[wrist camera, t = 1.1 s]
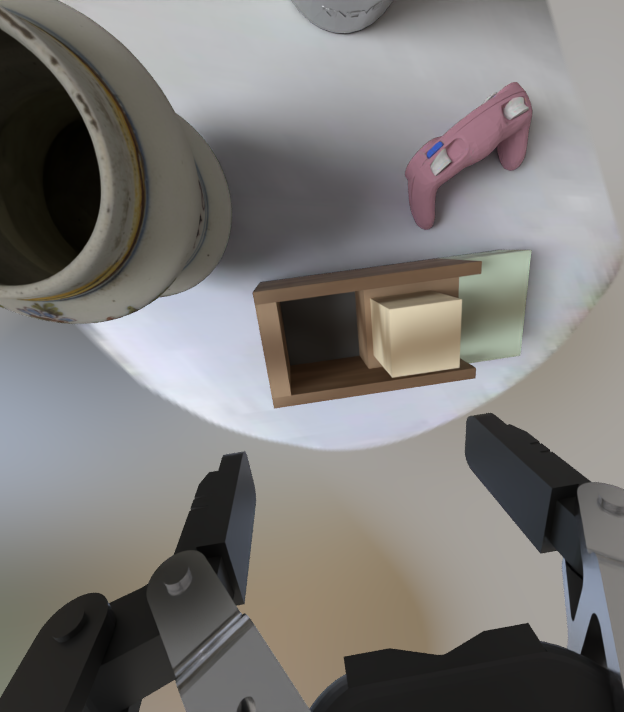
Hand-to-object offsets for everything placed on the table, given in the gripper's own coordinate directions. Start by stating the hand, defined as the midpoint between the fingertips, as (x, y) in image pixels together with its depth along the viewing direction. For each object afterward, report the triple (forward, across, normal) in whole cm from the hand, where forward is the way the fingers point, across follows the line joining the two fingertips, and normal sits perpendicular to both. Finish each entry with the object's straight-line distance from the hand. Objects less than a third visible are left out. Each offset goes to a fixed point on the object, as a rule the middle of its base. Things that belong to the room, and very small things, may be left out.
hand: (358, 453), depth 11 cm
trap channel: (+20, -7, 0) cm, 21 cm away
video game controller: (+20, -14, -12) cm, 27 cm away
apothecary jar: (+20, +11, -11) cm, 25 cm away
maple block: (+16, -7, 0) cm, 17 cm away
